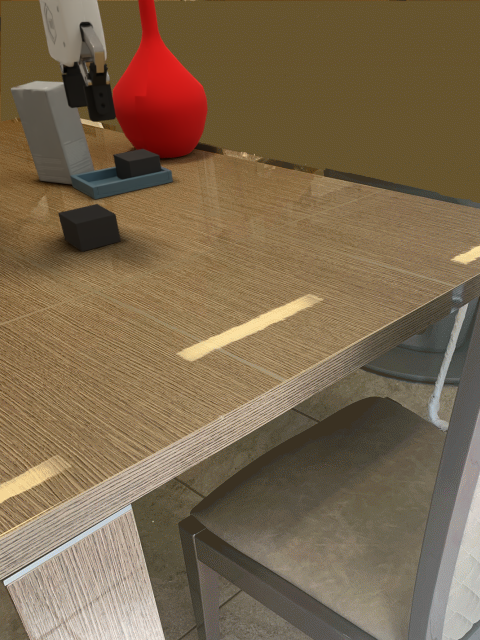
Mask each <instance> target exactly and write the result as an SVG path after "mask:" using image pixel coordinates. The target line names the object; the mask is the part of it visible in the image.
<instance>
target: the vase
mask: <svg viewBox="0 0 480 640" xmlns="http://www.w3.org/2000/svg"><path fill="white" fill-rule="evenodd" d="M137 2H138V11H139V18H140V25H141V40H140V43H139V46H138V48H137V50H136V51H135V53H134V55H133V57H132V59H131V61H130V62H129V64H128V65H127V68H126V69H125V71H124V72H123V74H122V75H121V76H120V78H119V80H118V81H117V82H116V84H115V85H114V87H113V89H112V97H113V102H114V108H115V114H116V118H115V119H116V121H117V122H118V124H119V126H120V128H121V131H122V133H123V134H124V137H126V139H127V140H128V141H129V143H130V144H131V145H132V147H133V148H134V149H135V150H140V149H145V150H147V151H150V152H152V153H155V154H157V155H159V157H160V160H161V159H175V158H181V157H185V156H187V155H190V153H192V152H193V151H194V150H195V148H196V147H197V146H198V144H199V142H200V139H201V138H202V136H203V134H204V131H205V125H206V121H207V117H208V116H207V115H208V111H209V110H208V97H207V95H206V91H205V89H204V86H203V85H202V84H201V82H199V81H198V79H197V78H195V77H194V75H193V74H192V73H191V72H189V70H188V69H187V68H186V67H185V66H184V65H183V64H182V62H180V60H178V58H177V57H176V56H175V55H174V54H173V53H172V51H170V49H169V48H168V47H167V45H166V44H165V42H164V41H163V39H162V37H161V34H160V31H159V26H158V17H157V11H156V4H155V0H137Z"/></svg>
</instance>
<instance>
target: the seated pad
mask: <svg viewBox="0 0 480 640" xmlns="http://www.w3.org/2000/svg"><path fill="white" fill-rule="evenodd" d="M112 156H113V161H114V167H116V172H117V177H118V178H120V179H122V180H123V179H128V178H133V177H137V176H142V175H147V174H151V173H156V172H161V171H162V170H161V166H162V164H161V158H160V157H159V155H157V154H155V153H152V152H150V151H147V150H145V149H140V150H137V149H135V150H130V151H129V150H128V151H123V152H120V153H114V154H112Z"/></svg>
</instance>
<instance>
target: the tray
mask: <svg viewBox="0 0 480 640" xmlns="http://www.w3.org/2000/svg"><path fill="white" fill-rule="evenodd" d="M161 170H162V171H161V172H156V173H151V174H147V175H142V176H137V177H133V178H128V179H123V180H122V179H120V178H118V177H117V172H116V167H115V166H111V167H107V168H101V169H95V171H91V172H86V173H81V174H76V175H71V176H70V177H71V181H72V184H71V185H72V188H74V189H76V190H78V191H79V192H81V193H83V194H85V196H86V195H87V196H88V197H90V198H92V199H94V200H99V199H104V198H107V197H111V196H117V195H121V194H124V193H130V192H134V191H138V190H142V189H147V188H153V187H157V186H160V185H165V184H169V183H173V182H174V180H173V171H172V170H171V169H169V168H166V167H164V166H162V165H161Z"/></svg>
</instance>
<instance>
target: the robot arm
mask: <svg viewBox="0 0 480 640" xmlns="http://www.w3.org/2000/svg"><path fill="white" fill-rule="evenodd" d="M38 1H39V6H40V12H41V17H42V24H43V29H44V34H45V39H46V44H47V49H48V53H49V55H50V57H51V58H52V59H53V60H54V61H56V62H57V63H59V68H60V72H61V78H62V82H63V84H64V88H65V93H66V97H67V102H68V106H69V107H71V108H85V107H87V112H88V116H89V120H90V121H91V122H93V123H96V122H104V121H113V120H115V119H117V118H116V114H115V108H114V102H113V90H112V85H111V79H110V75H109V72H108V70H109V68H108V64H107V63H106V61H107V60H108V59H107V58H108V54H107V45H106V40H105V33H104V28H103V23H102V17H101V13H100V7H99V3H98V0H38Z"/></svg>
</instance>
